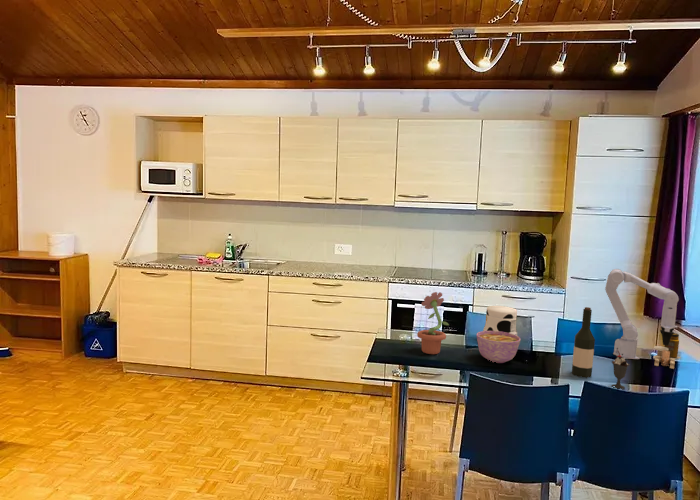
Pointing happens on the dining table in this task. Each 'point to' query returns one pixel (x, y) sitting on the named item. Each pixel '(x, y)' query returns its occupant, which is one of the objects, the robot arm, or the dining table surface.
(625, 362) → the sundae
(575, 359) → the wine bottle
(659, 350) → the bobbin
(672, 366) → the notched board
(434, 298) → the decorative flower
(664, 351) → the copper peg
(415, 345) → the dining table surface
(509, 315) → the milk container
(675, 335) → the condiment
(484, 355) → the bowl of food
